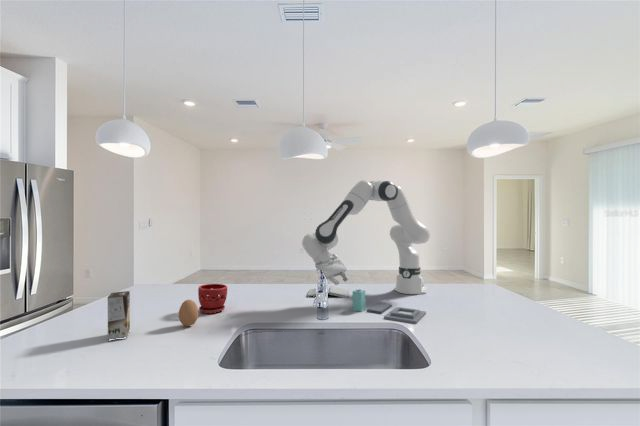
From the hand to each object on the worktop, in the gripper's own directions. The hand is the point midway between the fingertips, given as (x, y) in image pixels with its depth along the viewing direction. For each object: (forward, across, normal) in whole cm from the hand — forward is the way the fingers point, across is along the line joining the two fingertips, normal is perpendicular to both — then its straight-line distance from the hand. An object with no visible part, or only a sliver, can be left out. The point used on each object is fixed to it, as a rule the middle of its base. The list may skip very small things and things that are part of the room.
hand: (342, 282), depth 168 cm
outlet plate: (+30, +1, -13) cm, 33 cm away
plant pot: (-27, -36, +44) cm, 63 cm away
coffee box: (-30, -77, +47) cm, 96 cm away
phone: (+21, +6, -3) cm, 22 cm away
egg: (-21, -56, +38) cm, 71 cm away
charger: (+15, 0, +2) cm, 15 cm away
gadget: (-4, +20, +23) cm, 30 cm away
